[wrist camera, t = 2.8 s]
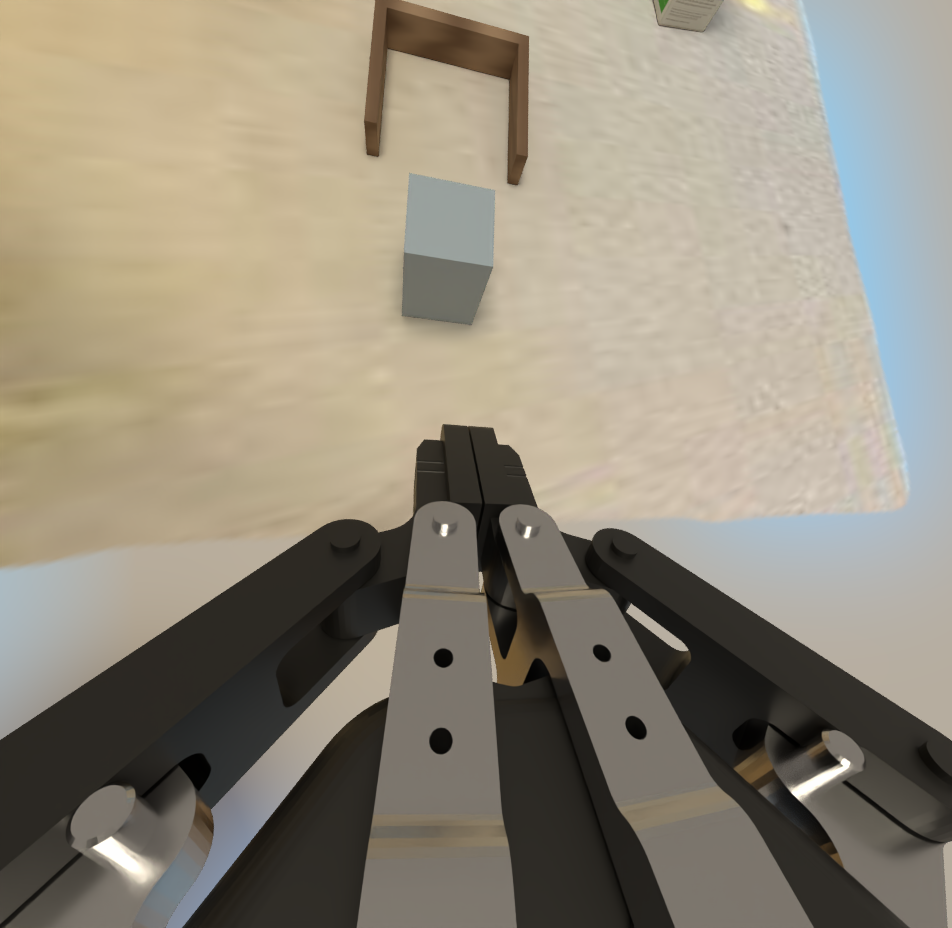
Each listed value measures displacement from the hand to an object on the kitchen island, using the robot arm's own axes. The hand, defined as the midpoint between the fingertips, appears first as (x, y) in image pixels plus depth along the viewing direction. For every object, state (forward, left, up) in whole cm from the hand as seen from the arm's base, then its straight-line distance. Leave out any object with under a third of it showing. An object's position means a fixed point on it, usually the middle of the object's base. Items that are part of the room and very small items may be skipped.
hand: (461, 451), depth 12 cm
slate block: (+1, +18, -20) cm, 27 cm away
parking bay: (+1, +36, -20) cm, 42 cm away
